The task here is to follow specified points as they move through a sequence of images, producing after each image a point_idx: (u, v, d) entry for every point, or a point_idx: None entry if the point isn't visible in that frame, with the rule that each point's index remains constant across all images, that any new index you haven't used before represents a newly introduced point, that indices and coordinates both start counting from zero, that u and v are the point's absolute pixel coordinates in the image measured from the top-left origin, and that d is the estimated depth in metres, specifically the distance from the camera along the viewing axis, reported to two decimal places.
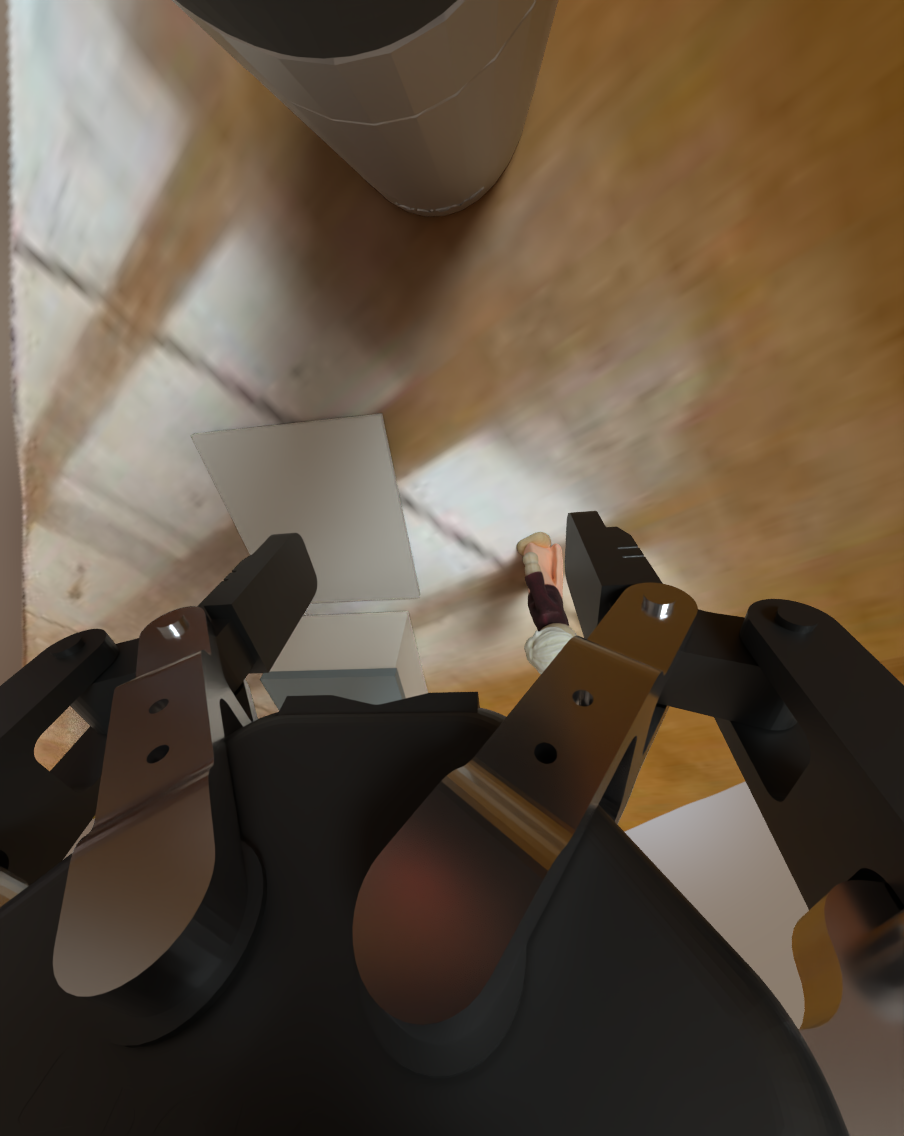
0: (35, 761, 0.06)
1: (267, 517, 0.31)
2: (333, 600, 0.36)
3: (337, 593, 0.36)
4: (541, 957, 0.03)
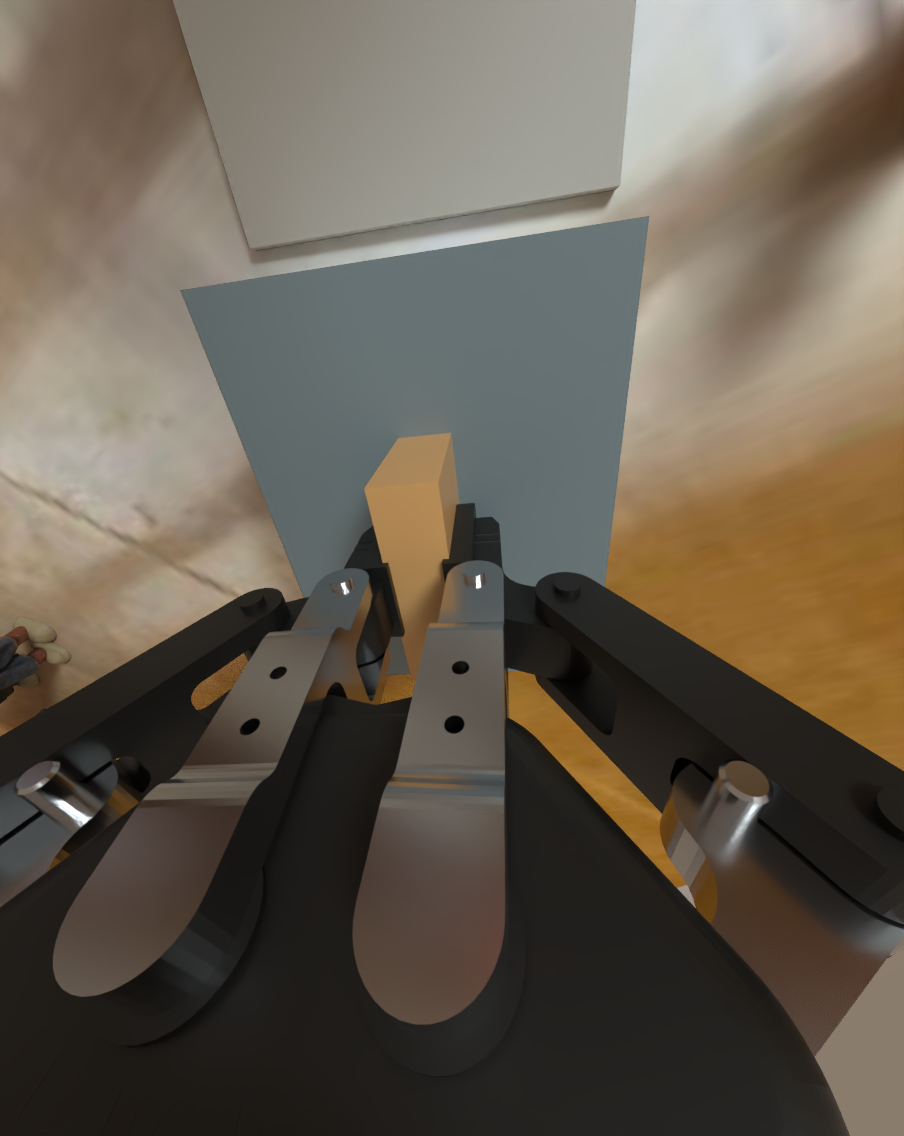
0: (191, 704, 0.07)
1: None
2: (393, 217, 0.14)
3: (406, 187, 0.14)
4: (541, 957, 0.03)
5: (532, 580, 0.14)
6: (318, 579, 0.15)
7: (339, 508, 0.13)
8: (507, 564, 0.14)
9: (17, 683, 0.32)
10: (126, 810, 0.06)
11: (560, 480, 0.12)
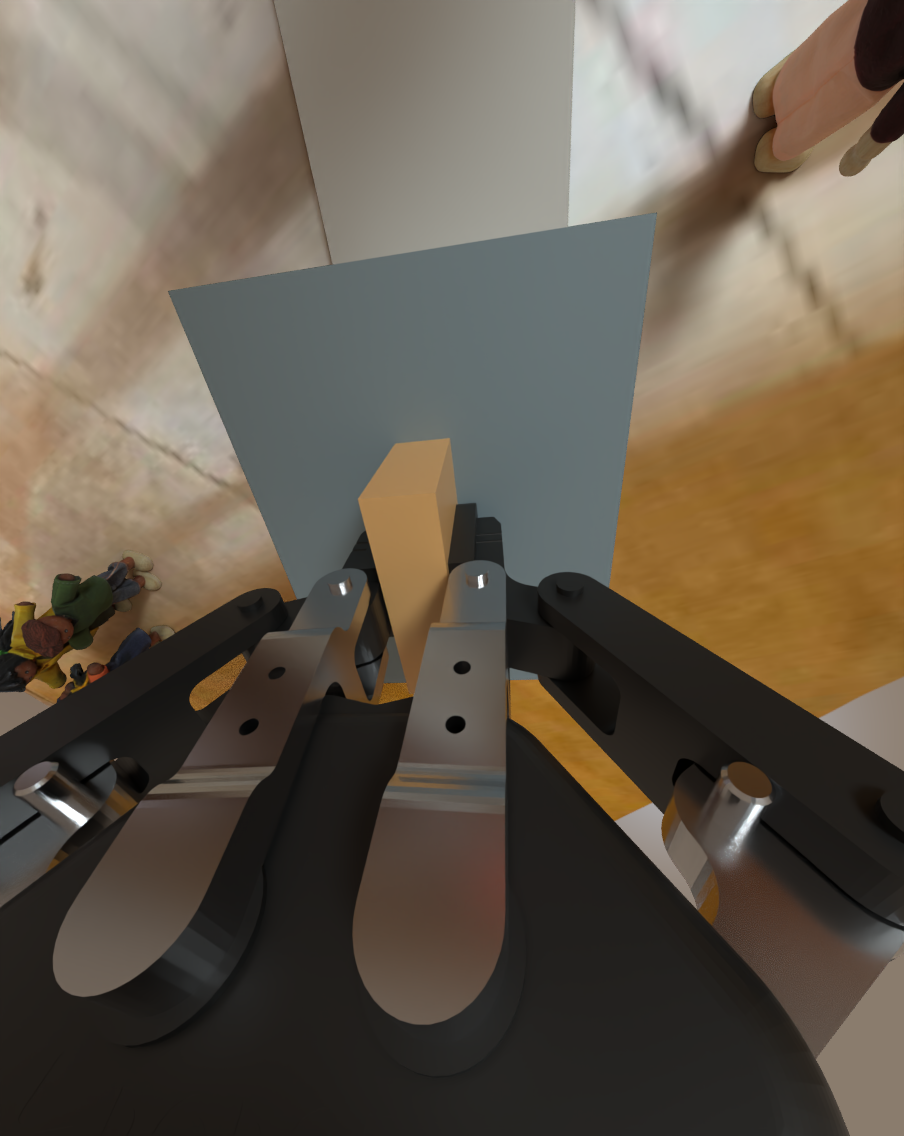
0: None
1: (343, 32, 0.19)
2: None
3: (436, 239, 0.23)
4: (541, 957, 0.03)
5: None
6: None
7: (335, 515, 0.13)
8: (508, 572, 0.13)
9: (116, 608, 0.40)
10: (124, 810, 0.06)
11: (562, 487, 0.12)
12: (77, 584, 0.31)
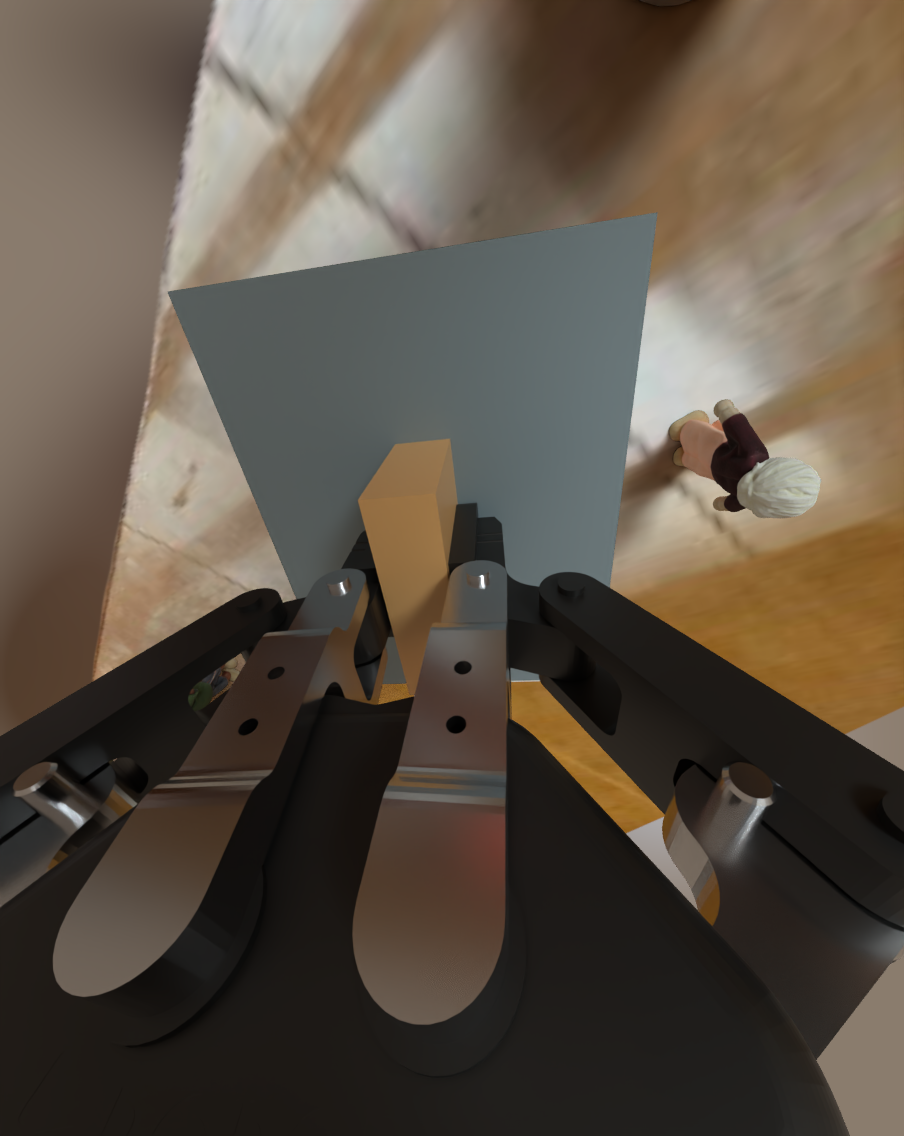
0: (188, 704, 0.07)
1: None
2: None
3: None
4: (541, 957, 0.03)
5: None
6: None
7: (335, 516, 0.13)
8: (508, 573, 0.13)
9: None
10: (124, 811, 0.06)
11: (563, 487, 0.12)
12: (196, 695, 0.42)
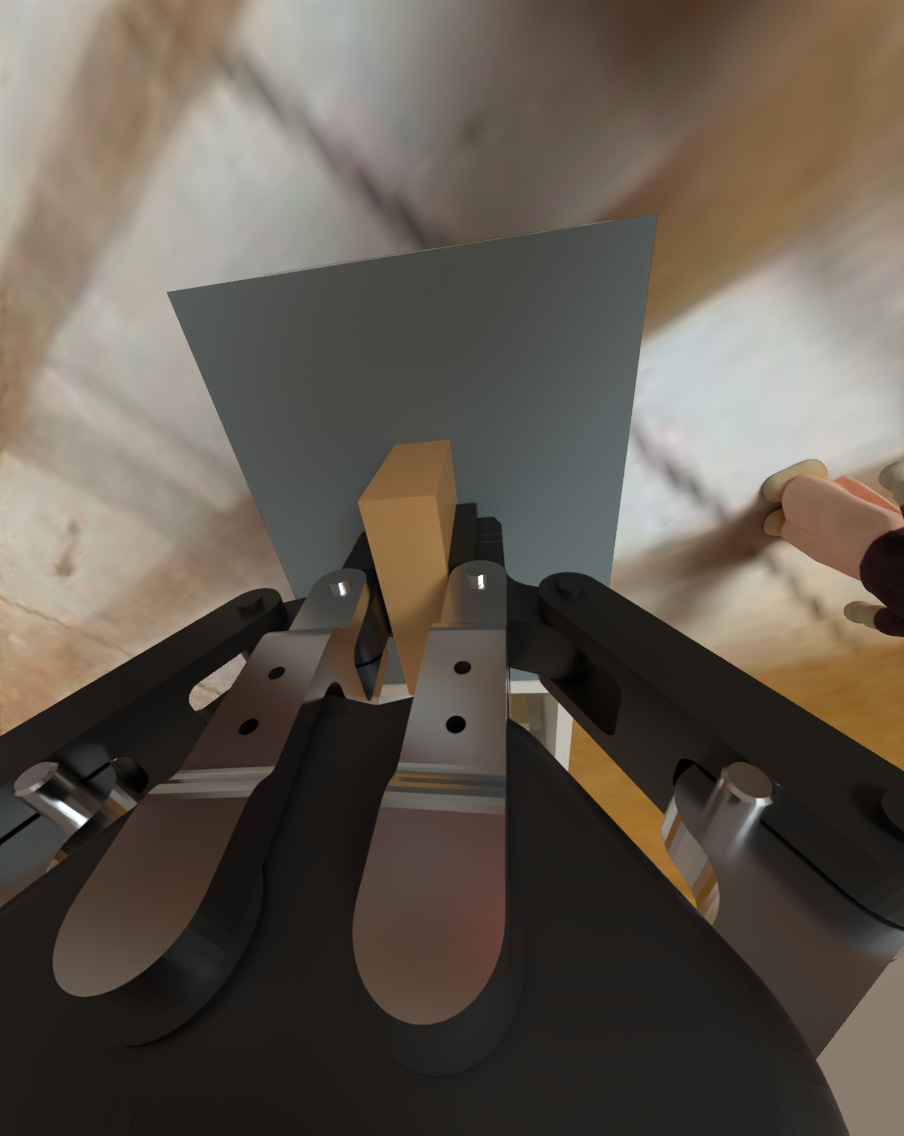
0: (189, 704, 0.07)
1: None
2: None
3: None
4: (541, 957, 0.03)
5: None
6: None
7: (334, 516, 0.13)
8: (508, 573, 0.13)
9: None
10: (124, 810, 0.06)
11: (563, 488, 0.12)
12: None
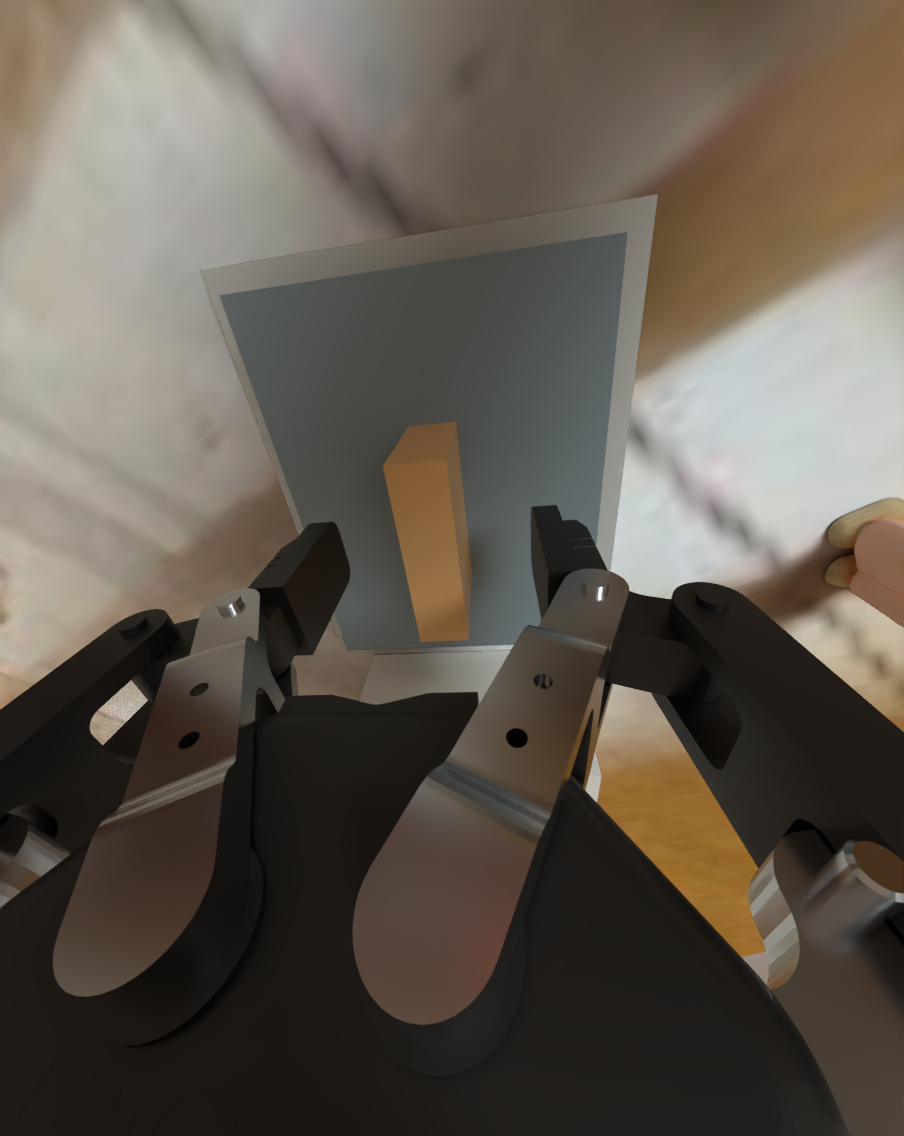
0: (90, 735, 0.07)
1: None
2: None
3: None
4: (541, 957, 0.03)
5: (528, 557, 0.15)
6: None
7: (354, 491, 0.14)
8: (506, 542, 0.15)
9: None
10: (46, 850, 0.06)
11: (553, 464, 0.13)
12: None
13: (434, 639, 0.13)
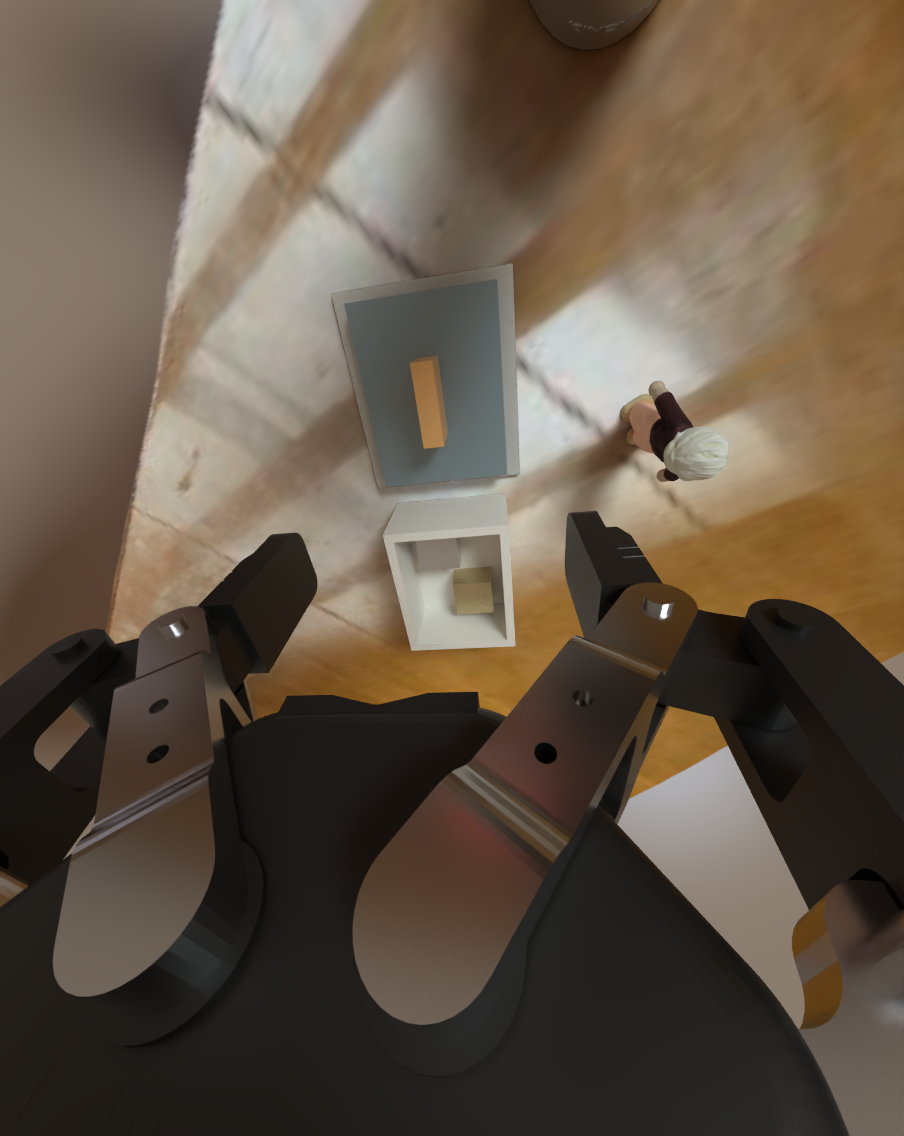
0: (35, 761, 0.06)
1: None
2: None
3: None
4: (541, 956, 0.03)
5: (474, 424, 0.33)
6: (381, 427, 0.34)
7: (393, 390, 0.32)
8: (463, 416, 0.33)
9: None
10: (4, 880, 0.05)
11: (480, 374, 0.31)
12: None
13: (429, 447, 0.30)
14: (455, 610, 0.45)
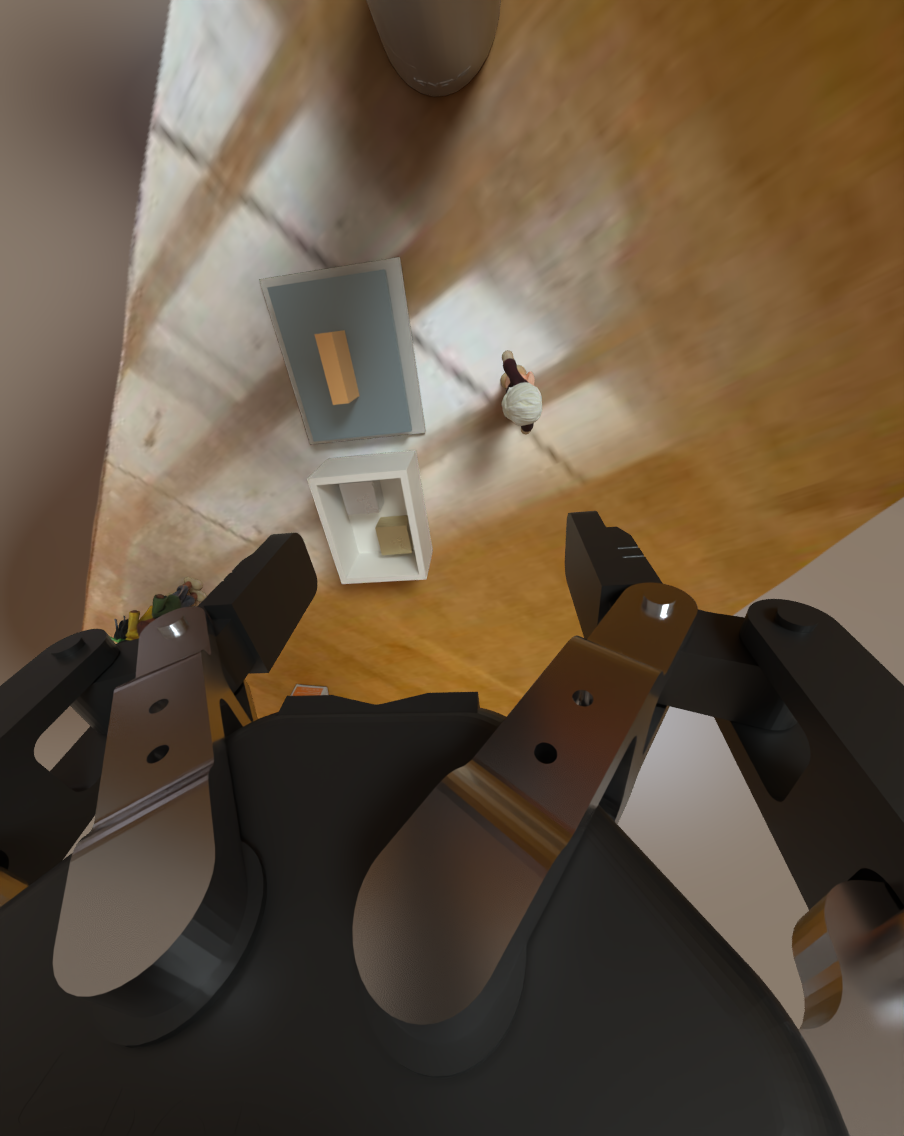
0: (35, 761, 0.06)
1: None
2: (357, 438, 0.46)
3: None
4: (541, 957, 0.03)
5: (379, 388, 0.41)
6: (305, 390, 0.41)
7: (312, 359, 0.40)
8: (370, 381, 0.40)
9: None
10: (4, 880, 0.05)
11: (380, 346, 0.39)
12: (165, 600, 0.53)
13: (337, 404, 0.38)
14: None
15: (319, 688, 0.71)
